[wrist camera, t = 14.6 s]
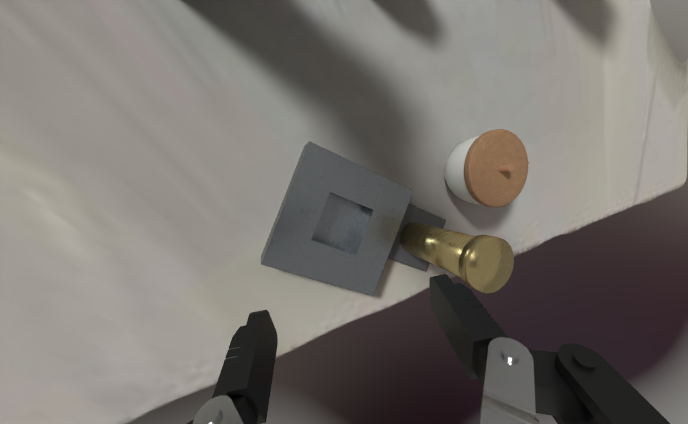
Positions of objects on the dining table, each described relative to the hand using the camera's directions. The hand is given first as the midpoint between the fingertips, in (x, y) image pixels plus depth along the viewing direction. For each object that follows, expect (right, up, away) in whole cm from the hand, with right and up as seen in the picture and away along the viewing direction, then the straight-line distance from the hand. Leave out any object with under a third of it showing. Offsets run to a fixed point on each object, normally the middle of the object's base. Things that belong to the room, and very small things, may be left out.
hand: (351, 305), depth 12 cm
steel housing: (-2, +3, +24) cm, 25 cm away
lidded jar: (+19, +11, +30) cm, 37 cm away
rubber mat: (+11, +1, +28) cm, 30 cm away
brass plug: (+11, 0, +28) cm, 30 cm away
